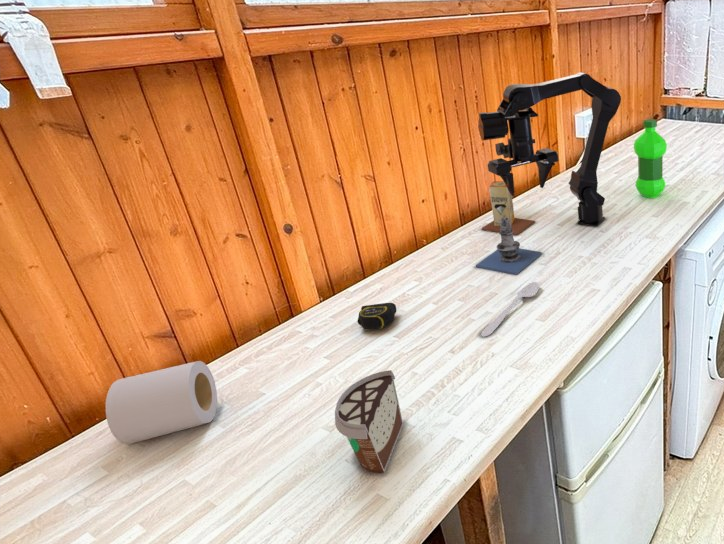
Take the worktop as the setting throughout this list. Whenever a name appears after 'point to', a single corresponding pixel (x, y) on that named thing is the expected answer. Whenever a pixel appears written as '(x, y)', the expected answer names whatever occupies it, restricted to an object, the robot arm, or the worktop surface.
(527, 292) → the spoon
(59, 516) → the worktop surface
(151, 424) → the toilet paper
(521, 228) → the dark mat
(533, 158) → the robot arm
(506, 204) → the shoe polish box
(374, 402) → the food container
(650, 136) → the plastic bottle
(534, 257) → the blue mat
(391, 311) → the tape measure
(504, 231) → the grey chess piece
